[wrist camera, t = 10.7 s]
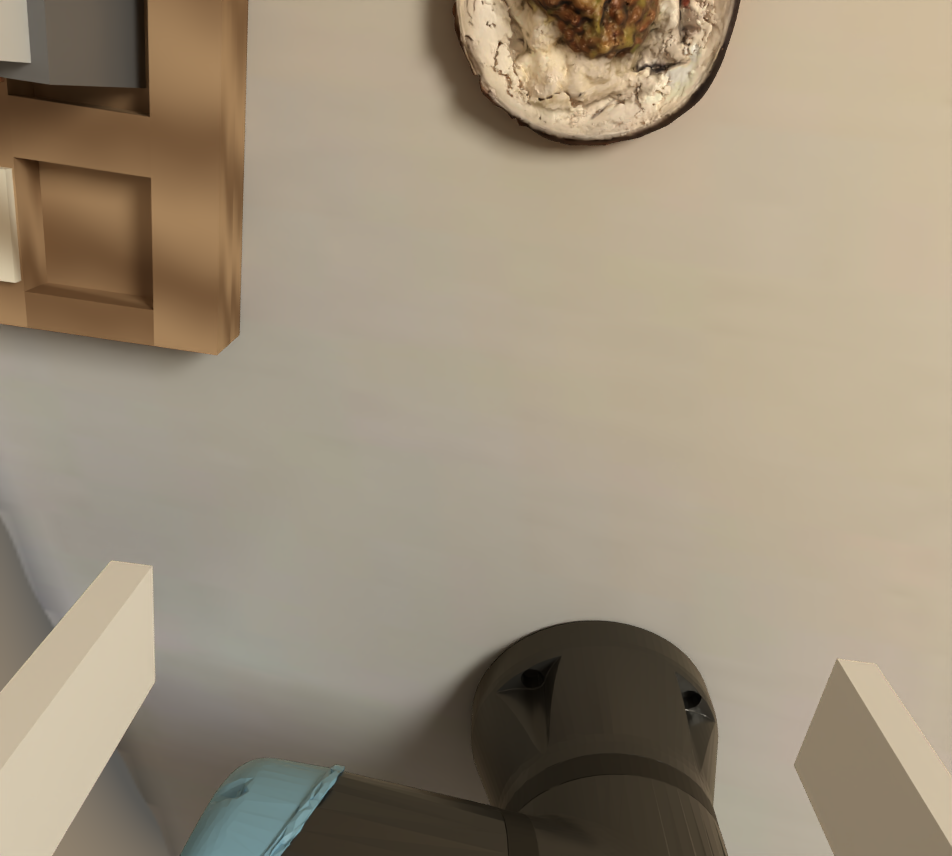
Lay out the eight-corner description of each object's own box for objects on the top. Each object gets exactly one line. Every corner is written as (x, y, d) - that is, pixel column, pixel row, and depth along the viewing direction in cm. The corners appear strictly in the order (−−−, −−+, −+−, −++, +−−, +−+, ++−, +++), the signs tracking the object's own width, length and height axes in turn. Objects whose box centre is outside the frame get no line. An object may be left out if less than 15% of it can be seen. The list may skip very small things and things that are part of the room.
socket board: (239, 334, 40) (213, 358, 37) (6, 300, 40) (-44, 321, 36) (250, -66, 33) (218, -87, 30) (-32, -112, 33) (-99, -139, 29)
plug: (145, 88, 34) (16, 83, 25) (55, 74, 34) (-108, 64, 25) (143, -14, 33) (5, -59, 24) (48, -29, 33) (-128, -81, 23)
